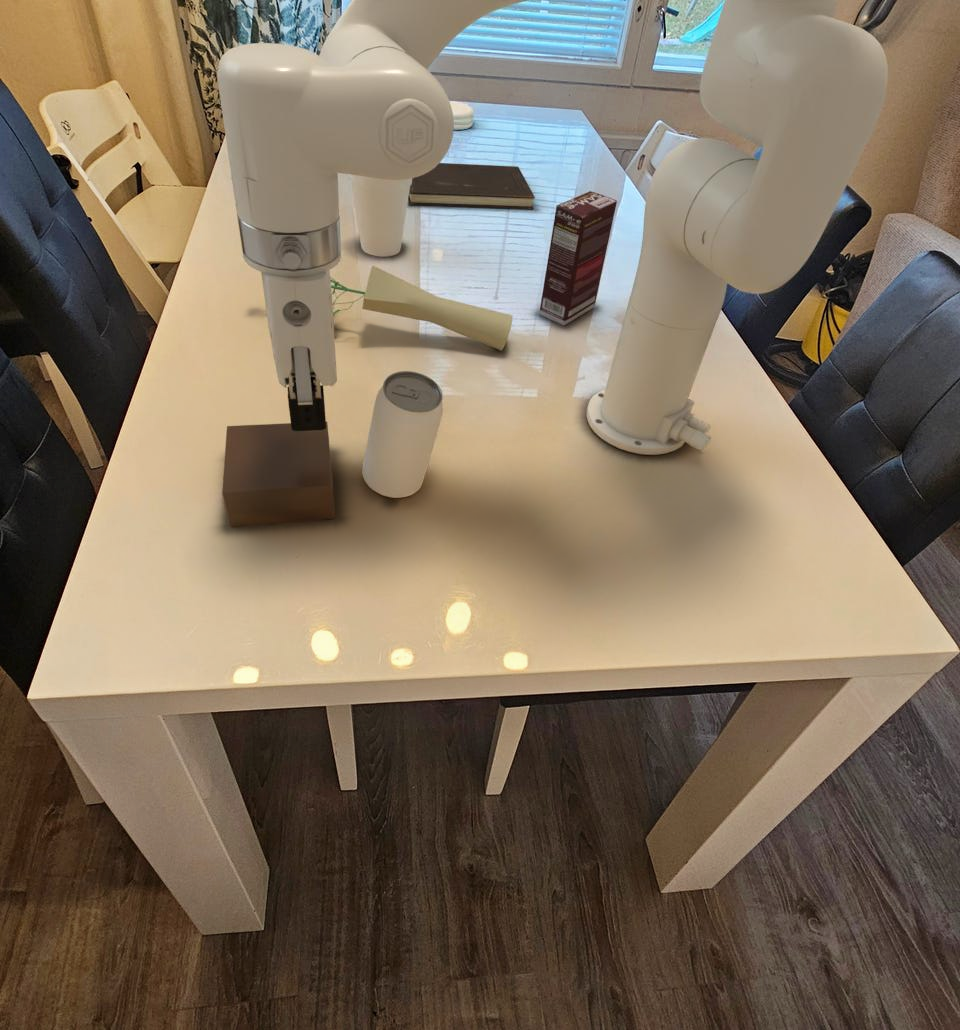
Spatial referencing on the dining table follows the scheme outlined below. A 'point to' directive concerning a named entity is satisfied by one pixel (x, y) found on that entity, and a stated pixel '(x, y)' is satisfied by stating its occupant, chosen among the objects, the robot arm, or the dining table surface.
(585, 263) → the supplement box
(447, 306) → the flower vase
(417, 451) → the can
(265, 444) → the walnut block
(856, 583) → the dining table surface
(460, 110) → the white stacked discs
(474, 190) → the hardcover book
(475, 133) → the dining table surface
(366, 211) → the foam cup
